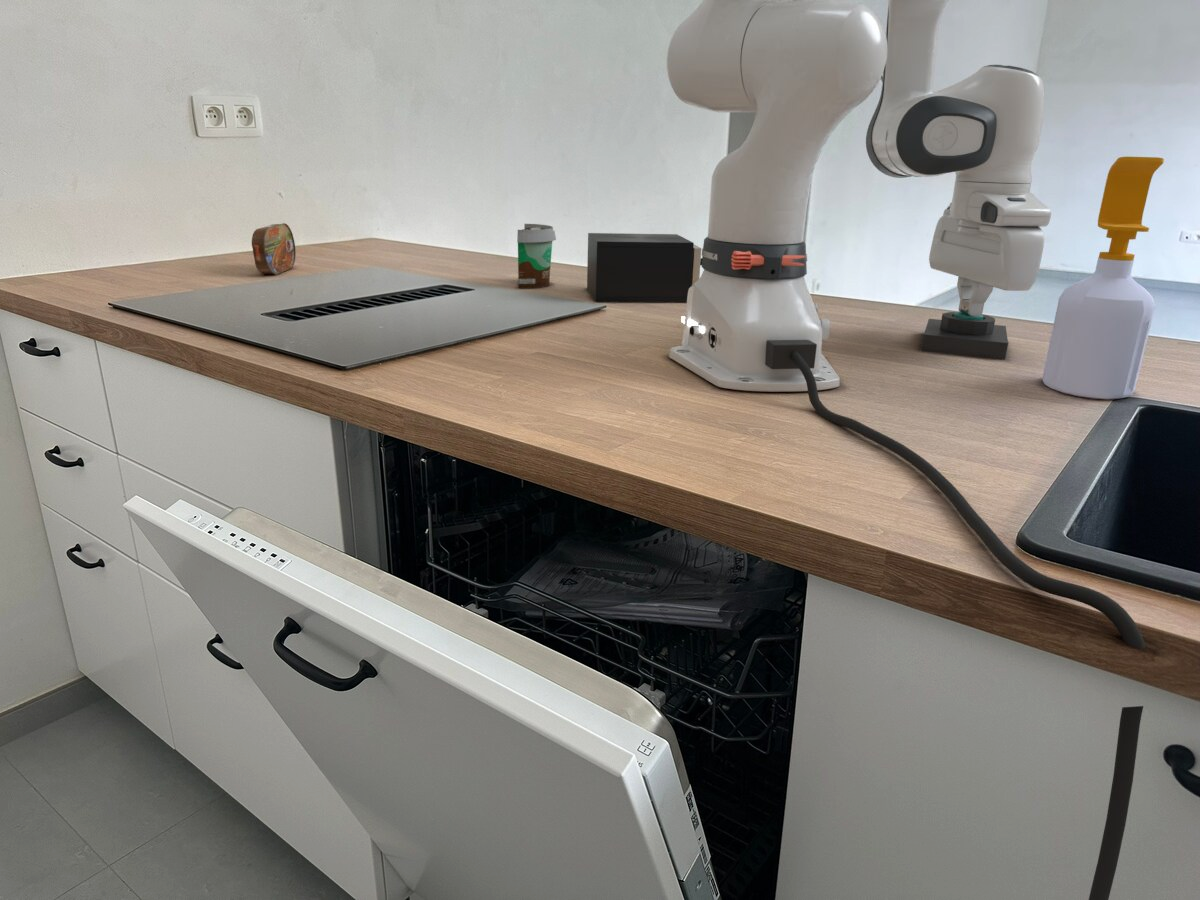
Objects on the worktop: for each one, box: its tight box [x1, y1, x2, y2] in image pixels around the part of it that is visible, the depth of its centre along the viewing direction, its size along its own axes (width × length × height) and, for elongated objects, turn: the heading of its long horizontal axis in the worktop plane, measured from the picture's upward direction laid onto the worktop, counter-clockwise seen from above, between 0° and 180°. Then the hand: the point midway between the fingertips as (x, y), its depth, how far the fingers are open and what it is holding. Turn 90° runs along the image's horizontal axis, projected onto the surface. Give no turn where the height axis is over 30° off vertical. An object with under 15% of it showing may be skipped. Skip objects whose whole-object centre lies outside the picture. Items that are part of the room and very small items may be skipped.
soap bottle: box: [1042, 156, 1165, 400], centre depth 92 cm, size 9×9×25 cm
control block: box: [921, 311, 1009, 361], centre depth 114 cm, size 12×10×4 cm
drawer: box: [691, 244, 702, 287], centre depth 144 cm, size 19×11×8 cm, turn 97°
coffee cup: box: [516, 223, 557, 289], centre depth 152 cm, size 12×6×10 cm, turn 179°
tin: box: [251, 222, 297, 276], centre depth 158 cm, size 15×3×8 cm, turn 179°
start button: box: [954, 311, 984, 320], centre depth 114 cm, size 4×4×2 cm
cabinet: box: [586, 232, 695, 303], centre depth 144 cm, size 16×13×10 cm
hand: (969, 314), depth 113 cm, fingers closed, pressing on start button
